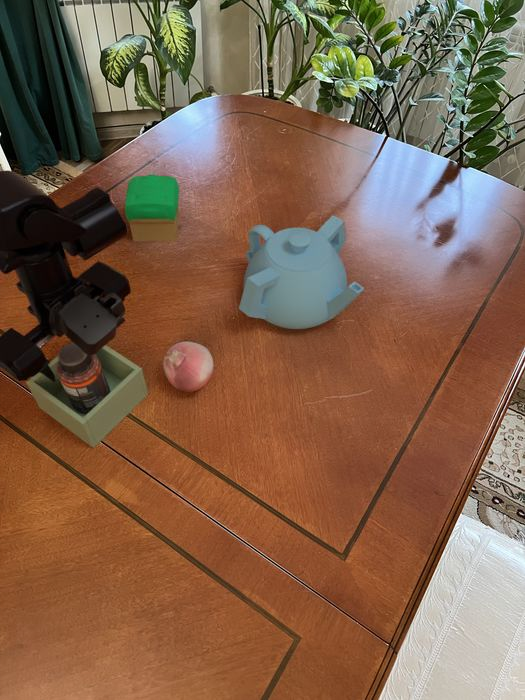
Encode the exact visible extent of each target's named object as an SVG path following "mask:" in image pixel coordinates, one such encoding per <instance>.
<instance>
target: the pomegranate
mask: <svg viewBox="0 0 525 700" xmlns="http://www.w3.org/2000/svg"><path fill="white" fill-rule="evenodd" d="M214 364H215V363H214V359H213V356H212V354H211V352H210V351H209V349H208V348H207V347H205V346H203V345H202V344H200V343H197V342H194V341H181V342H178V343H175V344H173V345H172V346H171V347H169V349H168V350H167V352H166V353H165V354H164V357H163V365H162V367H163V372H164V374H165V376H166V378H167V380H168V382H169V383H170V384H171V385H172V386H173V387H174V388H175V389H176V390H178V391H181V392H185V393H191V392H192V393H193V392H195V391H198V390H200V389H202V388H203V387H204V386H205V385H206V384H207V383H208V382H209V381H210V379H211V377H212V376H213V374H214V369H215V365H214Z"/></svg>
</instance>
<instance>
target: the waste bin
mask: <svg viewBox="0 0 525 700" xmlns="http://www.w3.org/2000/svg"><path fill="white" fill-rule="evenodd" d="M96 355H97V357H98V359H99V361H100V363H101V366H102V369H103V371H104V374H105V377H106V380H107V382H108V385H109V388H110V391H111V392H110V393H109V394H108V395H107V396H106V397H105V398H104V399H103V400H102V401H101V402H99V403H98V404H97V405H96V406H95V407H94V408H93V409H92V410H91V411H90V412H89V413H88V414H84V413H80V412H78V411H77V410H76V409H75V408H74V407H73V406H72V404H71V402H70V400H69V398H68V396H67V394H66V391H65V389H64V387H63V385H62V383H61V381H60V379H59V377H58V374H57V364H58V361H59V359H58V355H57V356H56V357H55V358H53V359H52V360H50V361H49V362H50V364H49V367H50V368H51V370H52V372H53V373H54V375H55V378H56V381H55V382H53V381H51V380H50V379H49V378H47V377H46V376H45V375H43V374H42V373H38V374H37V375H35V376H33V377H30V378H28V379H27V380H26V382H25V383H26V386H27V387H28V389H29V391H30V392H31V394H32V396H33V399H34V400H35V402H36V404H37V406H38V407H39V409H41V410H42V411H43V412H44V413H46V414H47V415H48V416H50V417H51V418H52V419H54V420H55V421H56V422H58V423H59V424H60V425H61V426H63V427H64V428H66V429H67V430H68V431H70V433H73V435H75V436H76V437H78V438H80V440H81V441H83V442H85V443H86V444H87V445H88V446H89V447H91V448H93V449H94V448H96V447H97V446H98V445H99V444H100V442H102V441H103V440H104V439H105V438H106V437H107V436H108V435H109V434H110V433H111V432H112V431H113V430H114V429H115V428H116V427H117V426H118V425H119V424H120V423H121V422H122V421H123V420H124V419H125V418H126V417H127V416H128V415H130V413H132V411H133V410H134V409H135V408H137V406H139V405H140V403H142V401H144V400H145V399H146V397H147V396H149V392H148V387H147V383H146V379H145V375H144V371H143V368H142V367H140V366H139V365H137V364H136V363H135V362H132V361H131V360H129V359H128V358H127V357H125V356H124V355H122V354H120V353H118V352H117V351H116V350H114V349H113V348H111V347H110V346H109V345H107V344H106V345H105V346H104V347H102V348H101V349H100V351H99V352H97V353H96Z"/></svg>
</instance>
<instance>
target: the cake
mask: <svg viewBox="0 0 525 700" xmlns="http://www.w3.org/2000/svg"><path fill="white" fill-rule="evenodd" d="M179 200H180V185H179V183H178V180H177V179H176V178H175V177H174V176H170V175H157V174H151V173H150V174H146V175H138V176H137V175H136V176H134V177H131V178H130V179H129V181H128V184H127V190H126V195H125V203H124V213H125V217H126V220H127V221H128V223H129V227H130V231H131V236H132V237H131V238H132V241H133V242H177V239H178V231H179V221H180V220H179V219H180V208H179Z"/></svg>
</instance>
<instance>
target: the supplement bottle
mask: <svg viewBox="0 0 525 700" xmlns="http://www.w3.org/2000/svg"><path fill="white" fill-rule="evenodd" d="M57 356H58V359H59V361H58V364H57V374H58V377H59V379H60V381H61V383H62V385H63V387H64V389H65V391H66V394H67V396H68V398H69V400H70V402H71V404H72V406H73V407H74V408H75V409H76V410H77V411H78V412H80V413H84V414H88V413H89V412H90V411H91V410H92V409H93V408H94V407H95V406H96V405H97V404H98V403H99V402H101V401H102V400H103V399H104V398H105V397H106V396H107V395H108V394H109V393H110V392H111V391H110V388H109V385H108V382H107V380H106V377H105V374H104V371H103V369H102V366H101V363H100V361H99V359H98V357H97V355H96V354H94V355H87V354H85V353H84V352H83V351H82V350H81V349H80V348H79V347H78V346H77V345H76V344H75V343H74V342H70V343H68V344H65V345H64V346H63V347H61V349H60V350H59V352H58V353H57Z"/></svg>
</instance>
